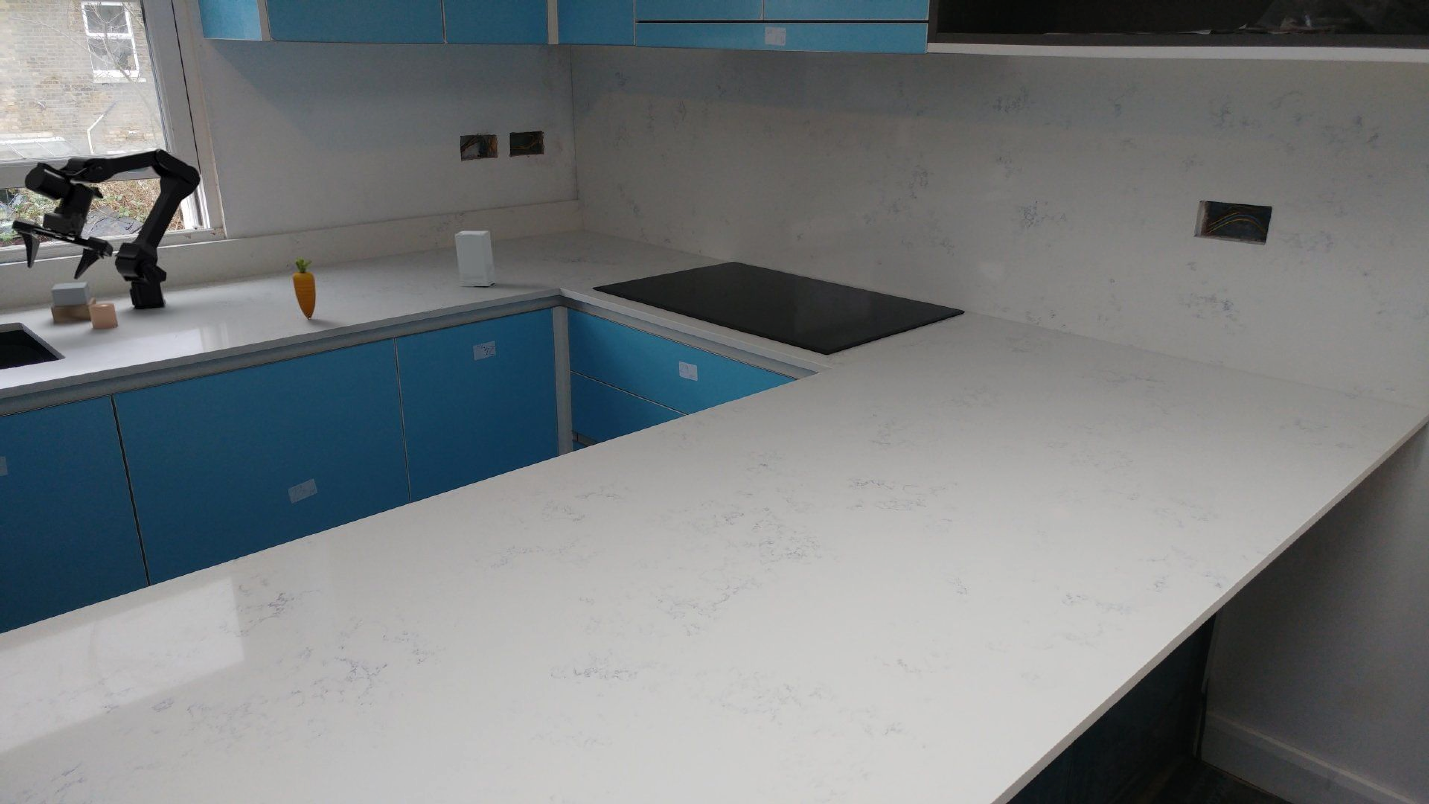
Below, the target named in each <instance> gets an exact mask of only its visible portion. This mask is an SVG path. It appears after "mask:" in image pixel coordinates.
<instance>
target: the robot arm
mask: <svg viewBox="0 0 1429 804" xmlns="http://www.w3.org/2000/svg"><path fill="white" fill-rule="evenodd" d="M150 167H151V169H152V170H153V172H154V174H156V175H157V176H159V177H160V178H159V188H160V192H159V195H158V197H157V198H156V201H154V204H153V206H152V208H151V210H150V211H149V214H148V216H147V217H146V219H145V221H144V223H143V225H142V227H141V228H140V231H139V232H138V235H137V236H136V238H135V239H134V240H133V241H132V242H122V243H121V245H119V250H118V252H117V253H116V254H115V255H114V257H115V261H114V266H115V269H116V271H117V272H118V273H119V274H120V275H121V277H122V279H123V280H124V282H125V283H126V282H127V283H128V282H129V283H130V286H131V287H129V295H130V300H131V304H132V306H134V307H133V308H134V309H135V310H137V309H138V310H139V309H150V308H161V307H163V308H164V307H165V306H166V302H167V301H166V299H165V296H164V291H163V286H162V283H163V282H166V281H167V274H168V273H167V272H166V271H165V270H164V269H163V268H161V266H158V265H157V264H158V262H159V257H158V247H159V245H160V243H161V242H162V240H163V238H164V236H165V234H166V232H167V230H168V227H169V226H170V224H171V222H172V220H173V218H174V216H175V215H176V213H177V210H178V208H179V207H180V205H181V203H182V201H184V200H185V199H187V198H188V197H189V196H191V195H192V194H193V193H194V191H196V189H197V188H198V187H199V185H200V184H201V175H200V173H199V171H198V169H197V168H196V167H194V166H192V165H188V164H187V163H186V162H185V161H183V160H181V159H179V158H177V157H175V156H173V155H171V154H170V153H169V152H167V151H166V150H164V149H162V148H157V147H156V148H155V147H154V148H153V147H146V148H145V149H141V150H136V151H135V150H134V151H130V152H125V153H120V154H114V155H111V156H102V157H98V156H74V157H73V156H72V157H70V158H68V161H67V163H66V164H65V165H63V166H62V167H60V168H58V169H57V168H55V167H53V166H52V165H50V164H48V163H47V162H41V161H40V162H37V163H36V166H35V167H34V168H32V169H31V170H30V171H28V173H27V174H26V175H25V179H24V186H25V188H26V189H27V190H29V191H31V192H33V193H36V194H38V195H40V196H42V197H44V198H46V199H49V200H51V201H58V200H60V201H59V203H58V206H55V208H54V210H53V212H46V213H44V215H43V219H42V226H41V225H39V223H37V222H36V221H33V220H28V219H24V218H21V217H17V218H16V219H15V220H13V222H12V224H11V228H10V229H12V231H14V232H16V233H17V235H18V236H19V237H21V238H23V241H24V242H23V243H24V245H25V255H26V263H27V264H26V265H27V268H28V269H32V268H33V266H34V264H35V260H36V257H37V254H38V251H39V248H40V245H41V240H40V239H39V238H41V237H43V238H47V239H52V240H56V241H59V242H63V243H68V244H71V245H75V246H79V247H83V248H82V254H81V255H82V256H81V257H80V260H79V262H78V265H77V266H76V267H77V268H76V269H75V272H74V277H73V279H74V280H78V279H79V278H80V277H81V276H82V275H84V273H85V272H86V271H87V270H88V269H89V268H90V267H91V266H92V265H93V264H95V263H96V262H97V261H99V260H105V257H107V258H112V257H113V256H112V255H113V253H114V246H113V245H112V244H111V243H110V242H109V241H108V239H107V240H106V239H103V238H98V237H94V236H91V235H89V237H88V238H84V237H83V236H82V233H83V230H84V227H85V225H86V224H88V218H87V217H88V215H89V212H90V209H91V206H92V202H93V200H94V199H99V200H102V199H103V200H104V198H105V197H104V195H103V193H102V192H101V191H100V189H99V187H98V186H88V185H85V184H84V183H87V184H101V183H104V182H105V181H108V180H110V179H112V178H114V176H116V175H118V174H121V173H125V172H130V171H136V170H141V169H145V168H150ZM73 181H74V182H75V183H73Z"/></svg>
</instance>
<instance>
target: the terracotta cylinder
mask: <svg viewBox="0 0 1429 804" xmlns="http://www.w3.org/2000/svg"><path fill="white" fill-rule="evenodd" d="M88 307H89V312H90V317H91V320H90V321H91V324H92V328H93V329H95V330H107V329H112V327H113V328H115V327H114V326H116V327H118V326H119V323H118V318H117V313H116V308H115V304H114V303H112V302H99V303H96V304H93V305H90V306H88Z"/></svg>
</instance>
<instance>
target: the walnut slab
mask: <svg viewBox="0 0 1429 804" xmlns="http://www.w3.org/2000/svg"><path fill="white" fill-rule="evenodd" d="M93 304H97V300H96V297H92V296H91V299H90V301H89V302H88V304H82V305H69V306H55V305H54V303H53V304H52V306H50V312H51V315H52V320H53V323H54V324H63V323H70V322H84V321H85V322H86V321H91V317H90V312H89V307H88V306H90V305H93Z"/></svg>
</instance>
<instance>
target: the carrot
mask: <svg viewBox="0 0 1429 804" xmlns="http://www.w3.org/2000/svg"><path fill="white" fill-rule="evenodd" d="M294 262H295V265H296V267H297V269H298V270H299V272H295V273H294V274H293V275H292V283H293V288H294V292H295V294H294V295H295V297H296V300H297V303H298V305H299V309H300V310H301V311H302V313H303V315H304V316H305V318H306V319H308V320H310V319H312V317H313V315H314V312H315V307H316V299H317V298H316V296H317V295H316V294H317V293H316V282H315V280H316V279H315V276H314V274H313V273H312V272H311V271H306V270H307V268H308V266H309V264H311V263H312V260H310V259H309V260H307V261H306V262H305V257H299V258H297V259H296V260H295V261H294ZM309 318H310V319H309Z"/></svg>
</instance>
